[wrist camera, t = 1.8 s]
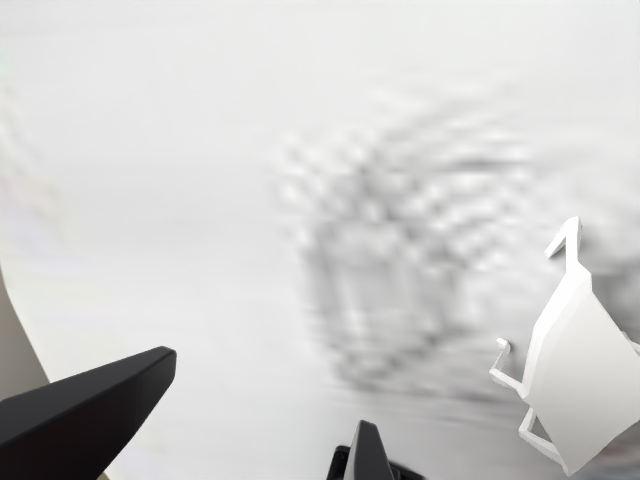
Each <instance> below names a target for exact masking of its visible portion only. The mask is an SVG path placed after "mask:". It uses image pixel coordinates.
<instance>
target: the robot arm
mask: <svg viewBox="0 0 640 480" xmlns="http://www.w3.org/2000/svg"><path fill="white" fill-rule="evenodd" d="M176 358H177V353H176V351H175V350H173V349H170V348H168V347H165V346H160V347H157V348H154V349H151V350H148V351H145V352H142V353H139V354H136V355H133V356H130V357H127V358H124V359H121V360H118V361H115V362H112V363H109V364H106V365H103V366H101V367H98V368H95V369H92V370H89V371H86V372H83V373H80V374H77V375H74V376H71V377H68V378H65V379H62V380H59V381H56V382H53V383H50V384H47V385H45V386H41V387H38V388H35V389H33V390H30V391H27V392H24V393H21V394H18V395H15V396H12V397H9V398H6V399H4V400H2V401H1V402H0V480H97V478H98V477H99V476H100V475H101V474H102V473H103V472H104V470H105V469H106V468H107V467H108V466H109V465H110V463H111V462H112V461H113V460H114V459H115V458H116V456H117V455H118V454H119V453H120V452H121V451H122V449H123V448H124V447H125V446H126V445H127V444H128V442H129V441H130V440H131V439H132V438H133V436H134V435H135V434H136V432H137V431H138V430H139V428H140V427H141V426H142V424H143V423H144V421H145V420H146V419H147V417H148V416H149V414H150V413H151V412H152V410H153V409H154V407H155V406H156V405H157V403H158V402H159V400H160V399H161V397H162V396H163V395H164V393H165V392H166V390H167V389H168V388H169V386H170V385H171V383H172V382H173V379H174V377H175V370H176ZM340 453H342V454H340ZM326 480H423V479H422V478H421V477H420V476H418V475H416V474H413V473H410V472H408V471H405V470H403V469H400V468H398V467H395V466H392V465H390V464H389V462H388V459H387V456H386V453H385V450H384V447H383V444H382V441H381V438H380V435H379V432H378V429H377V426H376V425H375V424H373V423H370V422H367V421H365V420H360V421H359V423H358V426H357V430H356V433H355V436H354V439H353V442H352V445H351V449H349V448H346V447H344V446H338V447H336V449H335V452H334V455H333V459H332V462H331V465H330V469H329V472H328V475H327V479H326Z"/></svg>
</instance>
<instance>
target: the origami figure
mask: <svg viewBox="0 0 640 480" xmlns="http://www.w3.org/2000/svg"><path fill="white" fill-rule="evenodd" d="M581 231H582V225H581V222H580V218H579V216H577V217H574V218H571V219H568V220H566V222H565V223H564V225H563V226H562V228H561V229H560V230H559V232H558V233H557V235H556V236H555V238H554V239H553V241H552V242H551V243H550V245H549V246H548V248H547V249H546V251H545V254H546V256H547V258H548V259H549V258H550V257H551V256H553V255H554V254H555V253H556V252H557V251H559V250H560V249H561V248H562V247H563V246H565V243H566V271H567V273H566V274H565V276H564V278H563V279H562V281H561V283H560V284H559V286H558V288H557V289H556V291H555V293H554V294H553V296H552V298H551V299H550V301H549V303H548V304H547V306H546V308H545V309H544V311H543V313H542V314H541V316H540V318H539V319H538V321H537V323H536V324H535V326H534V330H533V334H532V338H531V342H530V346H529V351H528V355H527V360H526V365H525V370H524V375H523V381H522V383H520V382H518V381H516V380H514V379H513V378H511V377H509V376H507V375H505V374H504V373H502V372H501V371H502V369H503V366H504V364H505V361H506V359H507V356H508V354H509V351H510V349H511V347H510V345H509V343H508V341H506V340H504V339H501V338H499V339H498V340H497V341H496V342H497V345H498V347H499V348H501V349H503V350H502V352H501V353H500V355H499V357H498V358H497V360H496V361H495V363H494V365H493V366H492V368H491V370H490V371H489V373H490V375H491V377H492V379H493V381H494V382H496V383H498V384H500V385H502V386H504V387H506V388H509V389H511V390H513V391H515V392H518V393H519V395H520V396H521V398H522V400H523V402H526V403H527V404H528V405H529V406H531V407H530V408H529V410H528V412H527V414H526V416H525V418H524V420H523V422H522V424H521V426H520V428H519V430H518V433H519V436H520V437H521V438H522V439H524V440H525V441H526V442H528V443H529V444H531V445H532V446H533V447H535V448H536V449H538V450H539V451H540V452H542V453H543V454H545V455H546V456H548V457H549V458H551V459H552V460H554V461H555V462H557V463H558V464H560V465H561V466H562V468H563V470H564V472H565V473H566V475H567V477H569V476H571V475H572V474H574V473H576V472H577V471H578V470H579V469H581V468H582V467H583V466H584V465H585V464H586V463H588V462H589V461H590V460H591V459H592V458H593V457H595V456H596V455H597V454H598V453H599V452H600V451H601V450H602V449H603V448H604V447H605V446H606V445H608V444H609V443H610V442H611V441H612V440H613V439H614V438H615V437H617V436H618V435H619V434H621V433H622V432H623V431H625V430H626V429H628V428H629V427H630V426H632V425H633V424H634V423H636V422H637V421H639V420H640V345H639V344H636V343H634V342H632V341H631V340H630V339H629V337H628V336H627V335H626V333H625V332H624V331H620V330H619V328H618V327H617V326H616V324H615V323H614V321H613V320H612V319H611V317H610V316H609V314H608V313H607V312H606V310H605V309H604V308H603V306H602V305H601V303H600V302H599V301H598V299H597V298H596V297H595V295H594V294H593V292H592V283H591V273H589V272H588V271H587V270H586V269H585V268H584V267H583V266H582V265H581V264H580V263H579V262H578V261H579V251H580V241H581ZM536 416H537V417H538V419H539V421H540V422H541V424H542V426H543V427H544V429H545V431H546V432H547V434H548V436H549V437H550V439H551V441H552V442H553V443H551V442H548V441H546V440H544V439H542V438H540V437H538V436H536V435H534V434H532V433H530V432H531V430H532V427H533V424H534V421H535V418H536Z"/></svg>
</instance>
